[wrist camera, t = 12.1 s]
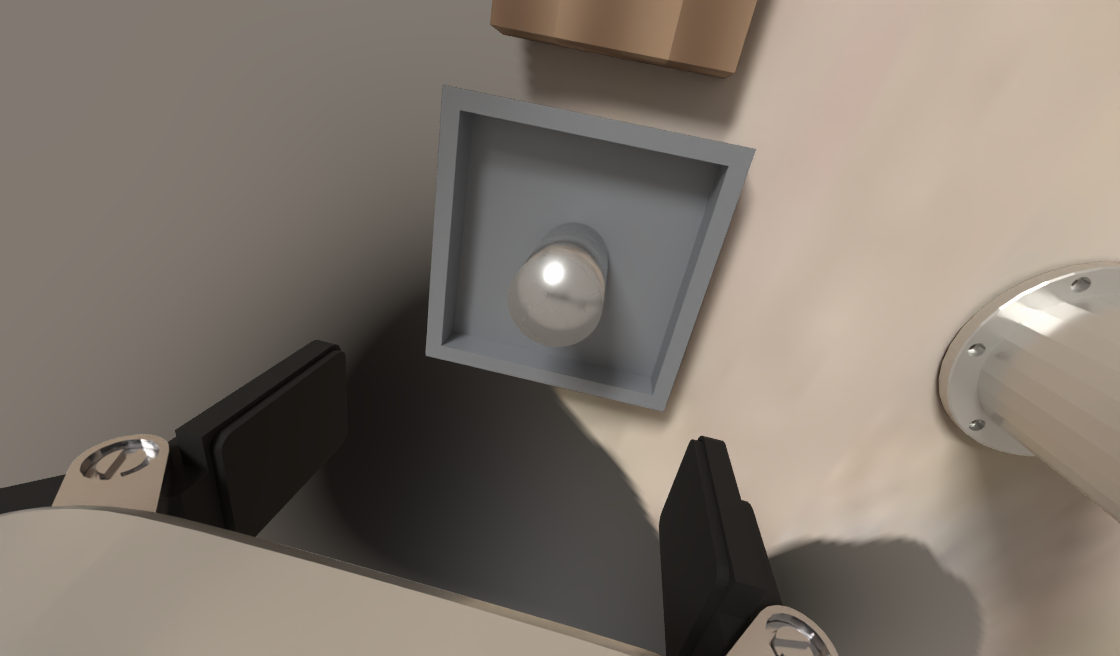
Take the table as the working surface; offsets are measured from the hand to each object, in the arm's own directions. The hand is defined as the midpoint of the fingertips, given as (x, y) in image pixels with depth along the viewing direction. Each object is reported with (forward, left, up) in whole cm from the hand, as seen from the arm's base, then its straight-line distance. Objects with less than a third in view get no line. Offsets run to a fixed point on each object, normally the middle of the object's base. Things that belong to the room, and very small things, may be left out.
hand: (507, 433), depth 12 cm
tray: (0, 0, -18) cm, 18 cm away
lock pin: (0, 0, -17) cm, 17 cm away
